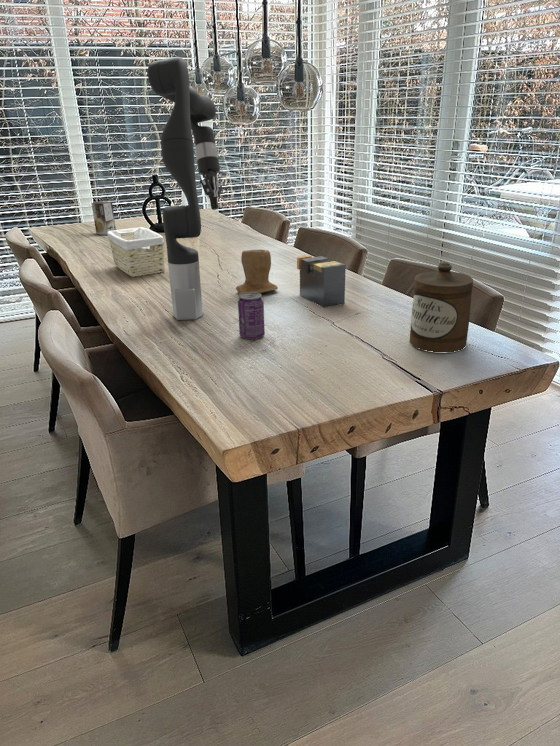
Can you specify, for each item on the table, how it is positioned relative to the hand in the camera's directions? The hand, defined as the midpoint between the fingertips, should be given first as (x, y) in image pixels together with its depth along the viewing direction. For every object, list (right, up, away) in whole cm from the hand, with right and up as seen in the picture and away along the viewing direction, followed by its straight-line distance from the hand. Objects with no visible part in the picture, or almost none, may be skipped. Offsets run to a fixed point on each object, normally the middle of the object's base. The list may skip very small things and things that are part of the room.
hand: (215, 209), depth 199 cm
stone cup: (+14, -29, +2) cm, 32 cm away
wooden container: (+65, -49, -44) cm, 93 cm away
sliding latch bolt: (+35, -24, -8) cm, 43 cm away
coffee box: (-69, +17, +104) cm, 126 cm away
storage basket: (-35, -15, +34) cm, 51 cm away
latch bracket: (+36, -32, -7) cm, 49 cm away
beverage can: (+15, -47, -37) cm, 61 cm away
